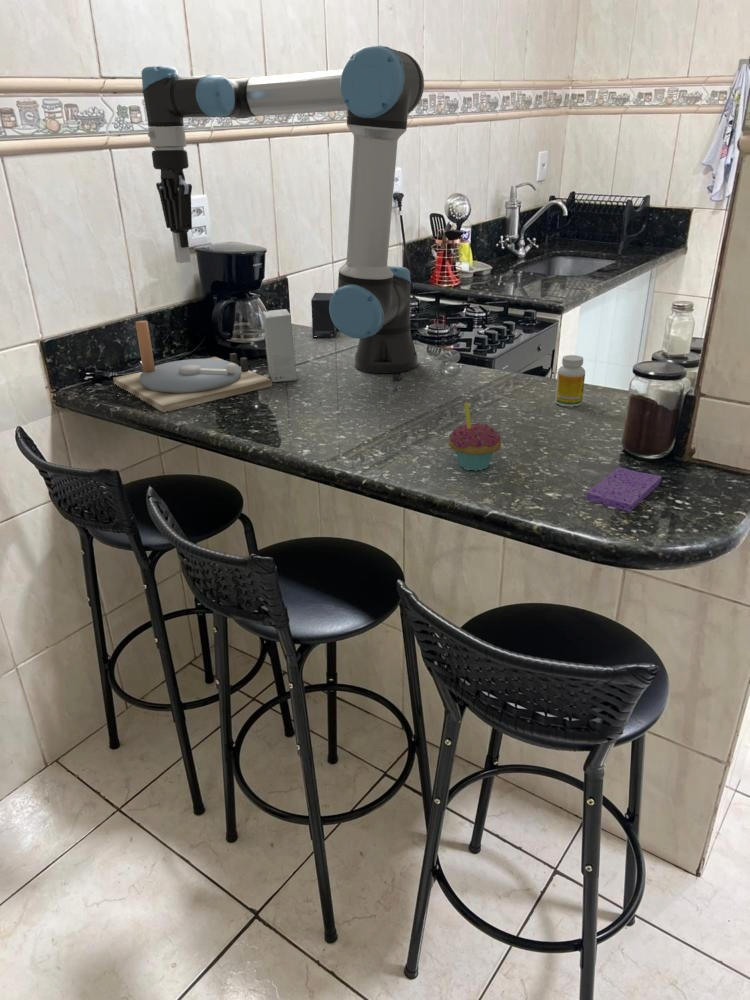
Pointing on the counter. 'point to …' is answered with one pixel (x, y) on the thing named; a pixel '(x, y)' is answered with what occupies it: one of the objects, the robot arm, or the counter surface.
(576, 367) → the supplement bottle
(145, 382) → the cam disc
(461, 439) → the cupcake
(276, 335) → the skincare box
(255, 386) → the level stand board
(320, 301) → the small box
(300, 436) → the counter surface
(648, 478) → the sponges
